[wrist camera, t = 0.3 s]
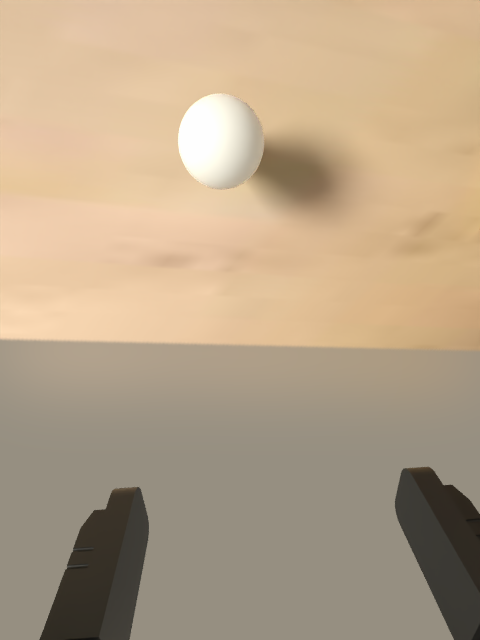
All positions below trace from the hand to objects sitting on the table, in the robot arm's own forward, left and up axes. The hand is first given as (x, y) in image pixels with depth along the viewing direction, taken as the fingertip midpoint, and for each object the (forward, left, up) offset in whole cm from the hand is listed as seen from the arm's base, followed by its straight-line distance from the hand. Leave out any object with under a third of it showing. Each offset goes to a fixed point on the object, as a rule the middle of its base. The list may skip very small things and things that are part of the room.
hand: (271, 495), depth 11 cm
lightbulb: (-10, -1, -29) cm, 31 cm away
